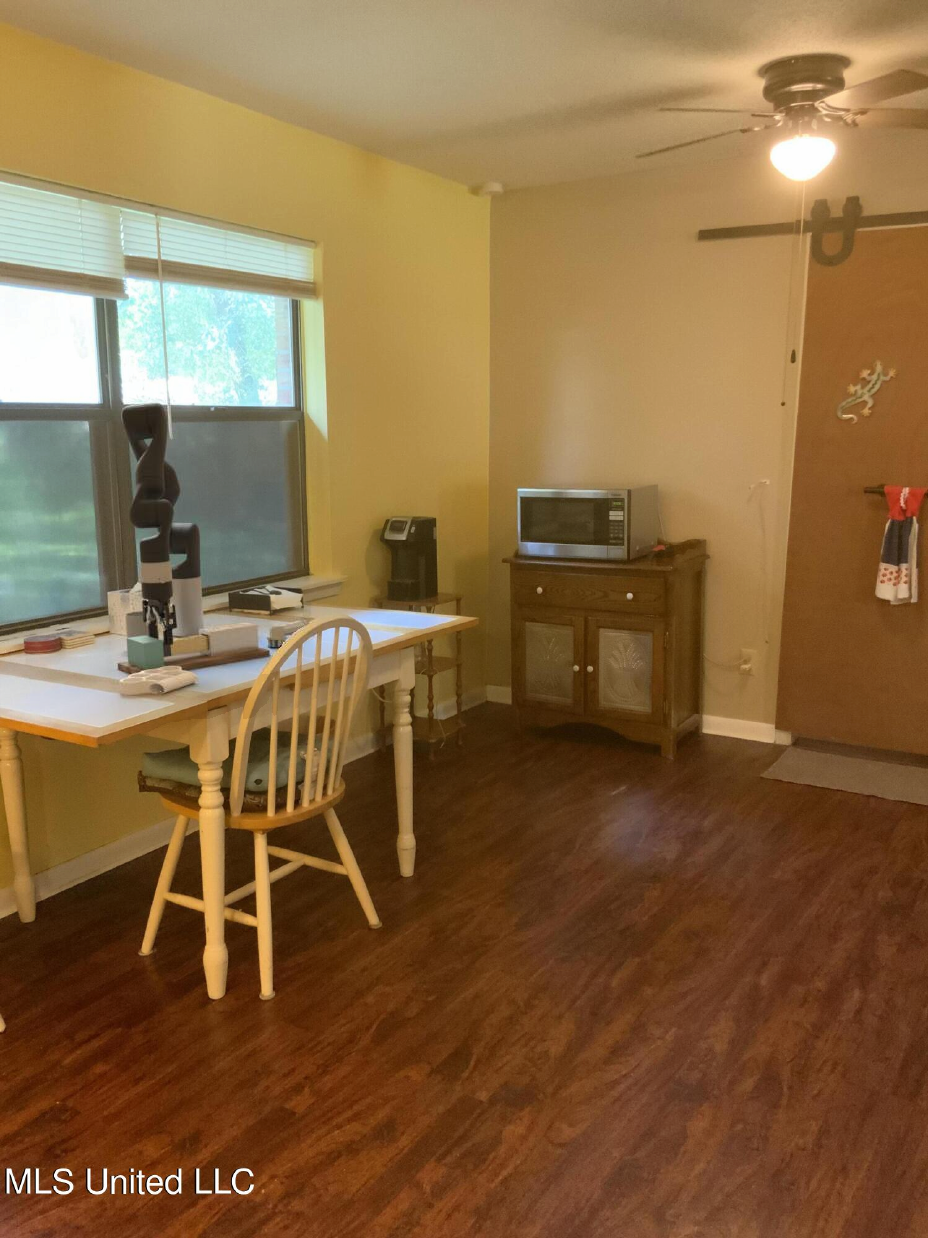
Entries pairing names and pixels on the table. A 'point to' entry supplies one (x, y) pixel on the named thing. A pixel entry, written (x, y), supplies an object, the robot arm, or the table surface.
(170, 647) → the plug
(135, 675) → the knuckle duster
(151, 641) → the teal rectangular block
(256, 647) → the sleeve
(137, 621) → the cup
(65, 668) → the table surface
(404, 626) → the table surface
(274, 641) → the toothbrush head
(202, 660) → the base board
